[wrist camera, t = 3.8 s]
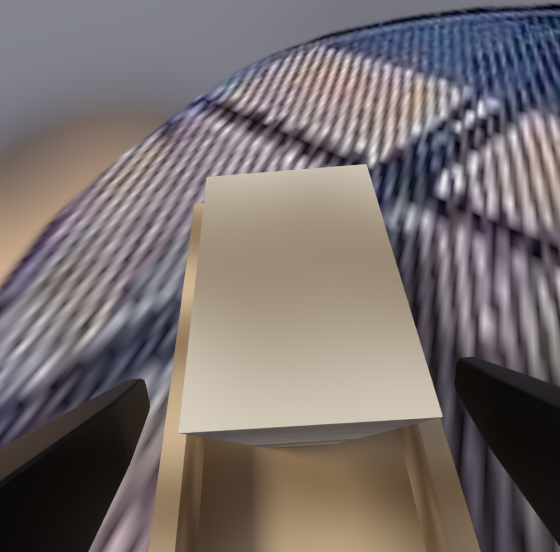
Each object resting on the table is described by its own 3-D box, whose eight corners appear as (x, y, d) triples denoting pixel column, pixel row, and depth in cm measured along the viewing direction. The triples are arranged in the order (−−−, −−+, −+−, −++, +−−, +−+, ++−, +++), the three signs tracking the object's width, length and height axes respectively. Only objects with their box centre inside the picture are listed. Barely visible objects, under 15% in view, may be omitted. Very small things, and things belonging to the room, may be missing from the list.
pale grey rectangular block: (336, 443, 15) (442, 417, 4) (267, 448, 15) (178, 433, 4) (323, 347, 18) (366, 164, 6) (265, 351, 18) (206, 176, 7)
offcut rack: (473, 582, 13) (535, 628, 10) (155, 597, 13) (105, 647, 10) (374, 227, 23) (387, 189, 20) (197, 241, 24) (179, 205, 20)
